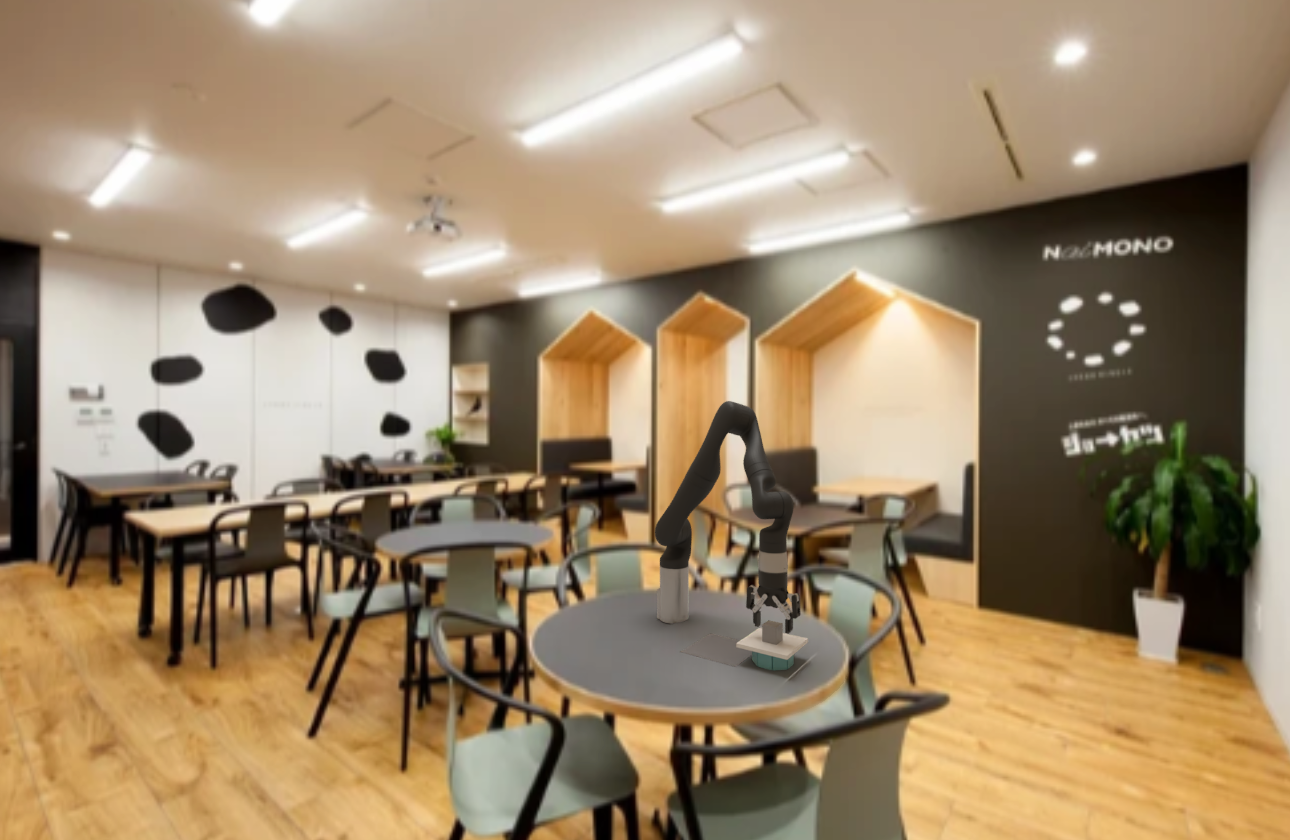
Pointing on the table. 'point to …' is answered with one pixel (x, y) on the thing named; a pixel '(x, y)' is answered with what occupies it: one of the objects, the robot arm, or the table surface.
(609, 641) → the table surface
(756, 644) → the lid
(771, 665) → the bowl
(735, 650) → the mat
